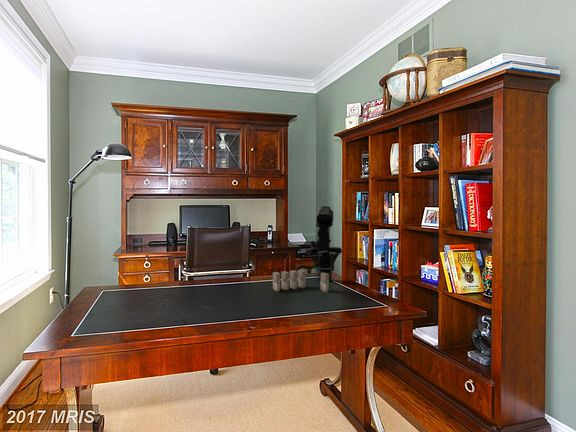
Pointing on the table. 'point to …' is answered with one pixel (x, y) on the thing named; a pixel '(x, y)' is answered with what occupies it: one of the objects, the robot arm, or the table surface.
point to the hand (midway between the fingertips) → (323, 267)
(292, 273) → the domino
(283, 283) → the domino
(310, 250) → the robot arm
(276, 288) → the domino
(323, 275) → the domino
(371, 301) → the table surface
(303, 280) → the domino
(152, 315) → the table surface
